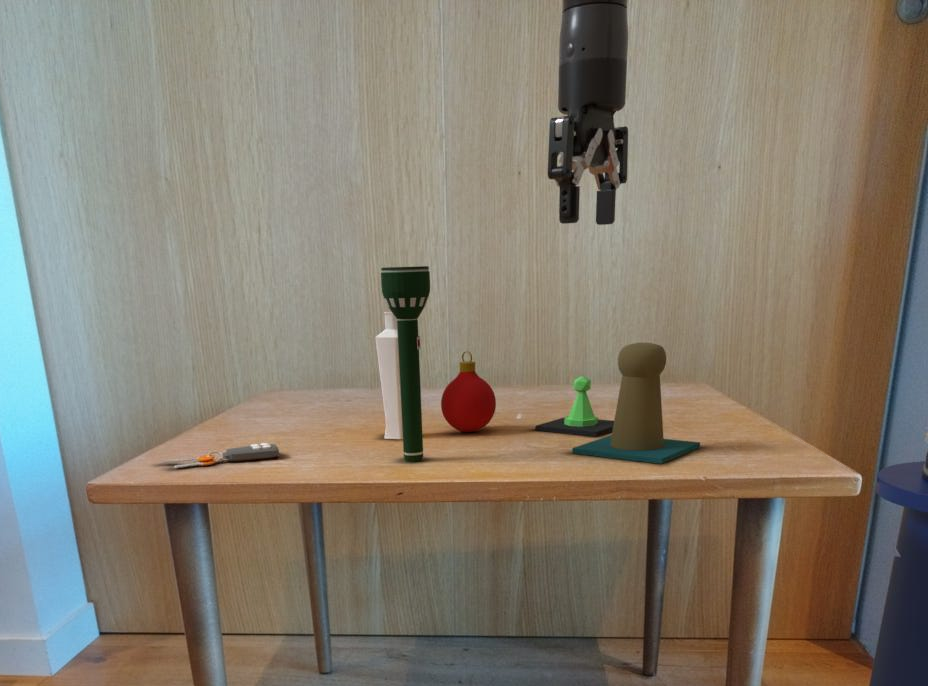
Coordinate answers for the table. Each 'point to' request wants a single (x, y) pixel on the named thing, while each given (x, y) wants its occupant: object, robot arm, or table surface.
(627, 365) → the cork
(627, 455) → the teal pad
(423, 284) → the flashlight
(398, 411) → the perfume bottle
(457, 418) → the christmas ornament
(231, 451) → the key chain
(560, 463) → the table surface
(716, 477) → the table surface
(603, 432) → the charcoal pad
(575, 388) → the game piece
